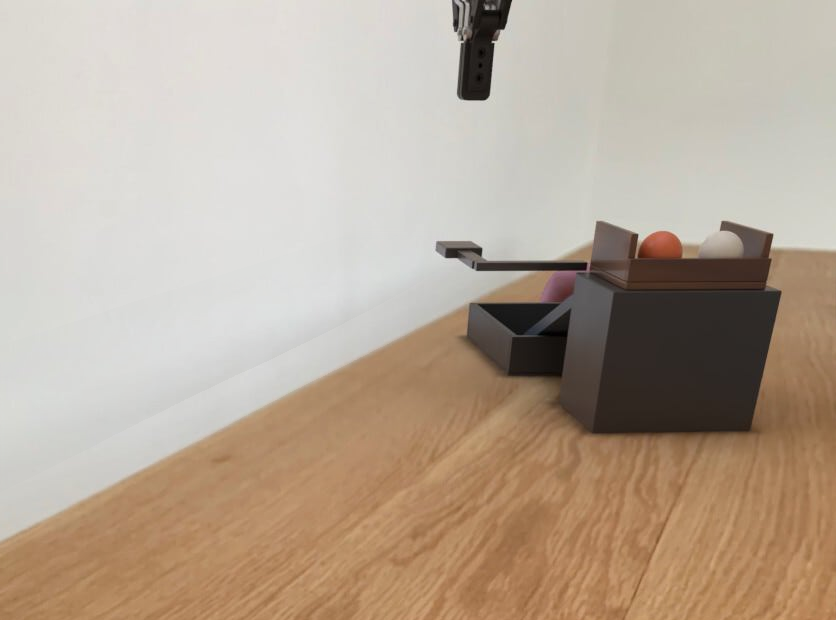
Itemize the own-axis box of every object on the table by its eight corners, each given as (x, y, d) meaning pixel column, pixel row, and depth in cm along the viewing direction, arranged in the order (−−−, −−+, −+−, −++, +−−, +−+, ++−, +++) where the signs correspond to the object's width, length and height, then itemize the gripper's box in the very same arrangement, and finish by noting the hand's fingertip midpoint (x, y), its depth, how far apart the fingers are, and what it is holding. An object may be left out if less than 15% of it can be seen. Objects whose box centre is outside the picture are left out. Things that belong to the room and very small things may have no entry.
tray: (466, 339, 110) (469, 302, 108) (614, 338, 111) (620, 301, 109) (507, 378, 96) (512, 336, 94) (677, 376, 97) (684, 335, 95)
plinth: (557, 406, 88) (575, 272, 83) (703, 404, 89) (730, 271, 84) (591, 437, 81) (614, 291, 76) (749, 434, 82) (782, 290, 77)
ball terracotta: (670, 261, 79) (684, 222, 77) (677, 287, 78) (692, 249, 75) (628, 259, 79) (642, 220, 77) (634, 285, 78) (648, 247, 75)
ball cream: (743, 223, 77) (757, 248, 76) (724, 263, 80) (737, 287, 78) (703, 220, 77) (716, 244, 75) (685, 260, 79) (697, 284, 78)
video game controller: (630, 341, 117) (645, 273, 117) (626, 327, 113) (642, 257, 112) (538, 332, 121) (552, 267, 120) (531, 319, 117) (546, 251, 116)
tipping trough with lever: (435, 251, 92) (438, 204, 90) (663, 250, 93) (671, 204, 91) (490, 290, 76) (496, 234, 74) (765, 289, 77) (777, 234, 75)
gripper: (582, -215, 70) (545, 103, 79) (525, -175, 81) (499, 98, 90) (464, -218, 69) (441, 102, 78) (424, -178, 80) (408, 98, 89)
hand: (472, 99), depth 84 cm, fingers closed
